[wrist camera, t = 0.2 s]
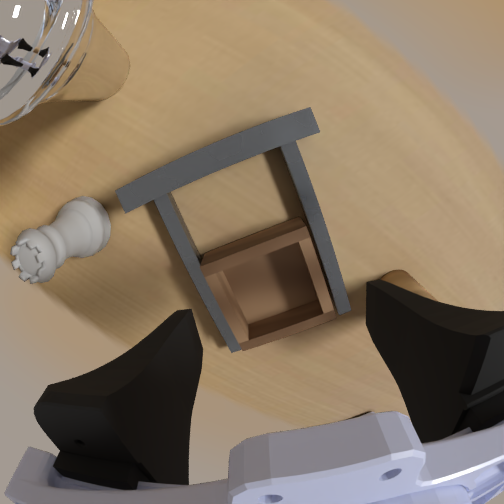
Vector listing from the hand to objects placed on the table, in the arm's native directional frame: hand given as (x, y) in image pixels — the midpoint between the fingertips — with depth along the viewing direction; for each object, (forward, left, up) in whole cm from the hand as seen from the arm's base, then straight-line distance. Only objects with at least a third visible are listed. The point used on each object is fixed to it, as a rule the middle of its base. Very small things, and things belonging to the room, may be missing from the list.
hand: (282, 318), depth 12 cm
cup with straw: (+17, +6, -10) cm, 20 cm away
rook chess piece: (+7, +12, -10) cm, 17 cm away
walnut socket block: (-2, +1, -10) cm, 10 cm away
